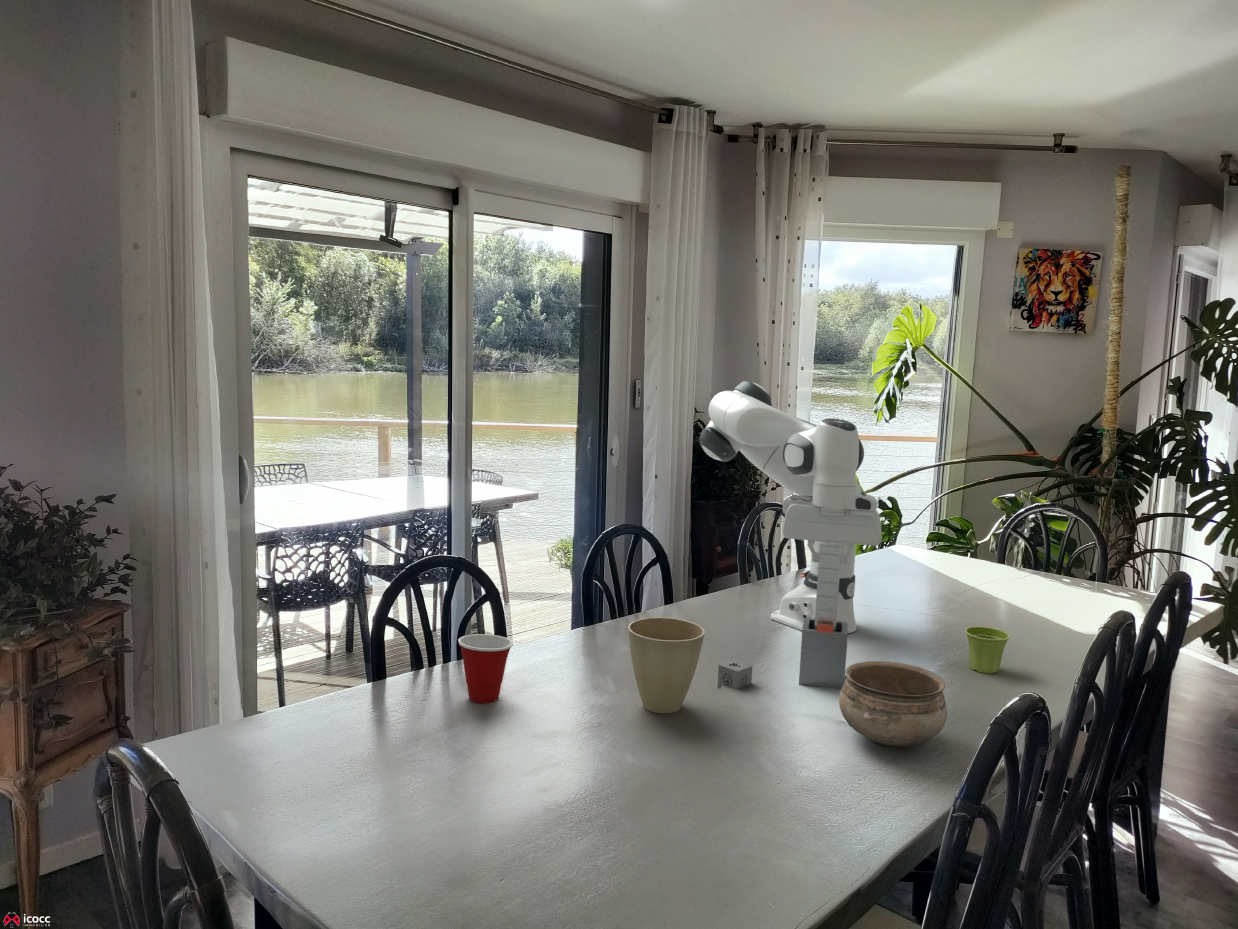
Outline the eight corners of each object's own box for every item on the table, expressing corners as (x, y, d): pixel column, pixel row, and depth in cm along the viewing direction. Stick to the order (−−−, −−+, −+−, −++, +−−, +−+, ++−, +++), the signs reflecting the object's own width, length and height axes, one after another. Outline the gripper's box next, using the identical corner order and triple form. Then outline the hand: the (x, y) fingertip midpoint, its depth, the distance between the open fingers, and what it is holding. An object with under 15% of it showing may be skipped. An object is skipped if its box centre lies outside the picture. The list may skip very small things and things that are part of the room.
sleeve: (780, 693, 187) (785, 626, 185) (785, 668, 203) (789, 605, 201) (860, 703, 183) (865, 634, 182) (859, 676, 199) (863, 613, 197)
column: (813, 640, 189) (819, 546, 187) (814, 633, 194) (820, 542, 192) (835, 642, 188) (841, 548, 186) (835, 635, 193) (841, 543, 191)
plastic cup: (523, 698, 180) (524, 640, 178) (480, 713, 172) (482, 652, 170) (488, 683, 187) (489, 627, 185) (445, 697, 179) (446, 638, 177)
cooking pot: (925, 782, 150) (931, 711, 149) (816, 752, 160) (820, 685, 159) (957, 731, 171) (963, 669, 170) (859, 707, 181) (863, 649, 180)
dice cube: (732, 682, 193) (733, 659, 192) (751, 689, 189) (752, 666, 189) (717, 687, 189) (718, 664, 189) (736, 694, 186) (737, 671, 185)
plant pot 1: (648, 727, 168) (651, 644, 166) (612, 698, 181) (614, 621, 179) (715, 714, 175) (719, 635, 173) (675, 688, 188) (679, 614, 186)
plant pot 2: (1010, 678, 201) (1013, 641, 200) (965, 674, 203) (969, 636, 202) (1001, 664, 210) (1004, 628, 209) (958, 660, 212) (962, 624, 211)
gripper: (782, 496, 187) (778, 561, 189) (884, 503, 183) (879, 570, 184) (784, 491, 193) (780, 554, 195) (883, 498, 189) (878, 563, 190)
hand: (829, 562), depth 190 cm, fingers closed on column, 4 cm apart
